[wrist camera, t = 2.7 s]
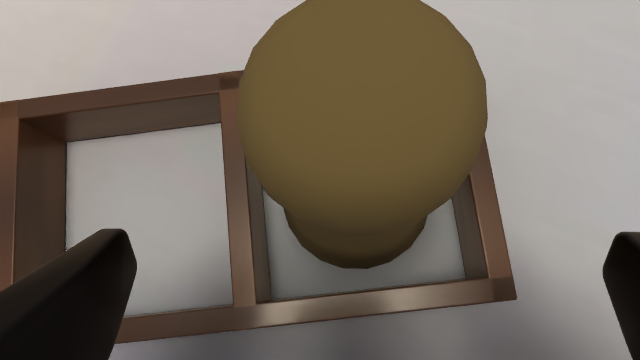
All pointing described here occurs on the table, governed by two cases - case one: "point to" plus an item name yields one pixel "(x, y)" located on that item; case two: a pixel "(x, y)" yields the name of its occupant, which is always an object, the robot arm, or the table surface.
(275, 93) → the cork
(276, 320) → the frame
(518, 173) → the table surface
